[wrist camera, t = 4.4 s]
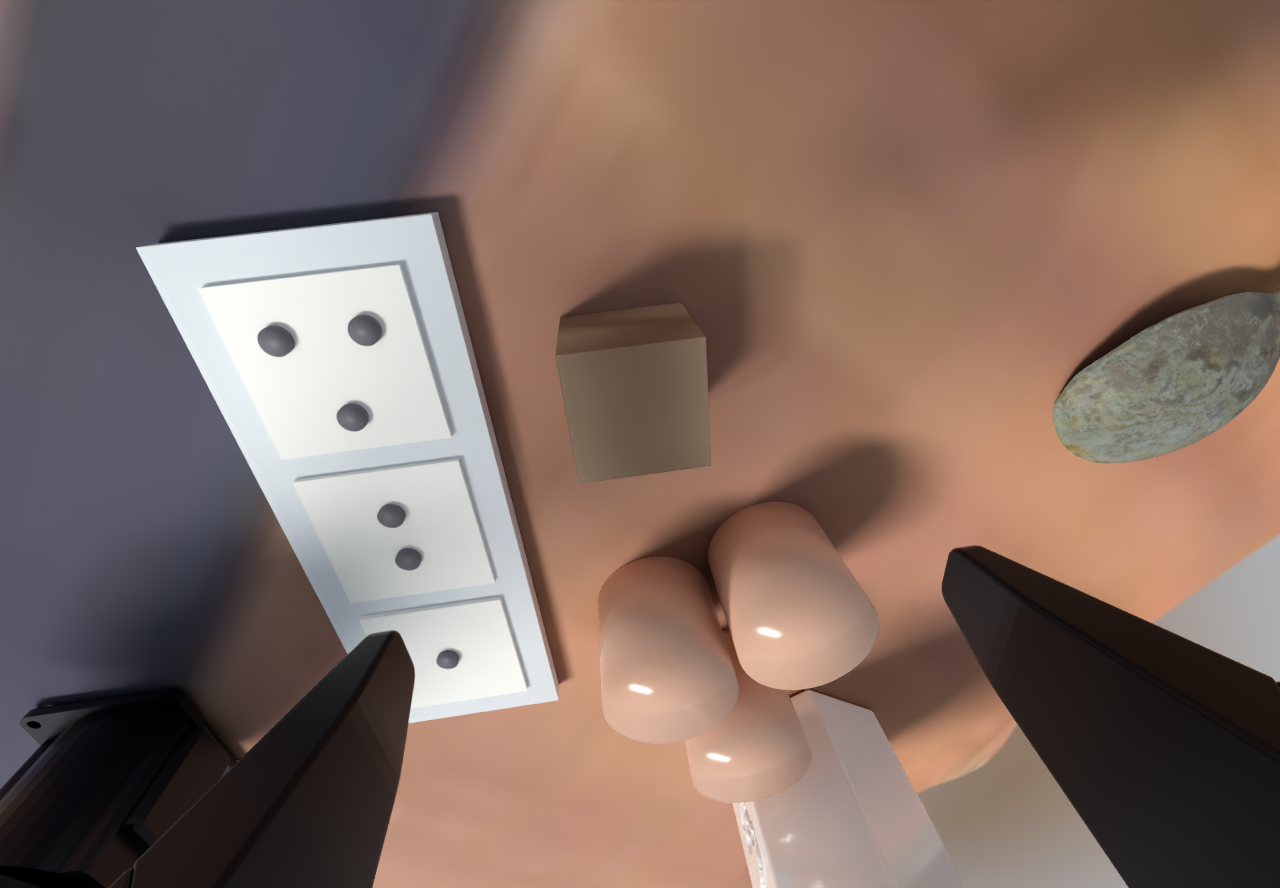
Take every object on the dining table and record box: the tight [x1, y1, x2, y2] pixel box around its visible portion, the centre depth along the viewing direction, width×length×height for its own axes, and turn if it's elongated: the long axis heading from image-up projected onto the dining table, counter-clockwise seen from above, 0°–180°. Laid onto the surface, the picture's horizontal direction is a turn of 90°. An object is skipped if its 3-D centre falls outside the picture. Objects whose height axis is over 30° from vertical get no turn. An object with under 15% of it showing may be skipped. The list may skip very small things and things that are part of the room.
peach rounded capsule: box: [598, 556, 739, 743], centre depth 21 cm, size 5×5×5 cm
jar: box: [733, 690, 967, 888], centre depth 24 cm, size 9×8×12 cm
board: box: [136, 212, 559, 723], centre depth 20 cm, size 8×21×1 cm, turn 6°
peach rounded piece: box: [685, 630, 812, 803], centre depth 24 cm, size 5×5×5 cm
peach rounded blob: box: [708, 501, 879, 690], centre depth 21 cm, size 5×5×5 cm
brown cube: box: [556, 302, 711, 484], centre depth 17 cm, size 4×4×4 cm
